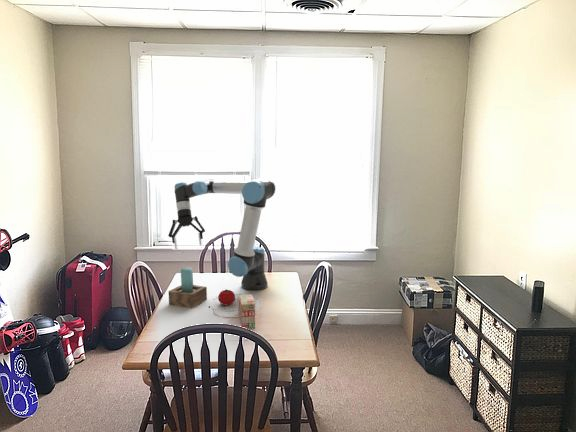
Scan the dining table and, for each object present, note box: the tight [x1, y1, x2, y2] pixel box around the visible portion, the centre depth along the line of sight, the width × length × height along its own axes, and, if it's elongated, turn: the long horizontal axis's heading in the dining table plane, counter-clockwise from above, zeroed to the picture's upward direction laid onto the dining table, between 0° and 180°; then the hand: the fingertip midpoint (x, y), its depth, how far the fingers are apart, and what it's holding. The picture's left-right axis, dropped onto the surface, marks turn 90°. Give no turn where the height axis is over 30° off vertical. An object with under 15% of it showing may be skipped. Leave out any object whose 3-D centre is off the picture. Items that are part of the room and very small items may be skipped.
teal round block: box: [180, 266, 194, 293], centre depth 263 cm, size 6×6×12 cm
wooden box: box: [168, 284, 208, 309], centre depth 264 cm, size 14×14×7 cm
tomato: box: [217, 288, 236, 306], centre depth 261 cm, size 9×9×8 cm
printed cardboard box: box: [237, 294, 256, 330], centre depth 239 cm, size 21×6×12 cm, turn 10°
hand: (188, 247), depth 280 cm, fingers open, 13 cm apart
